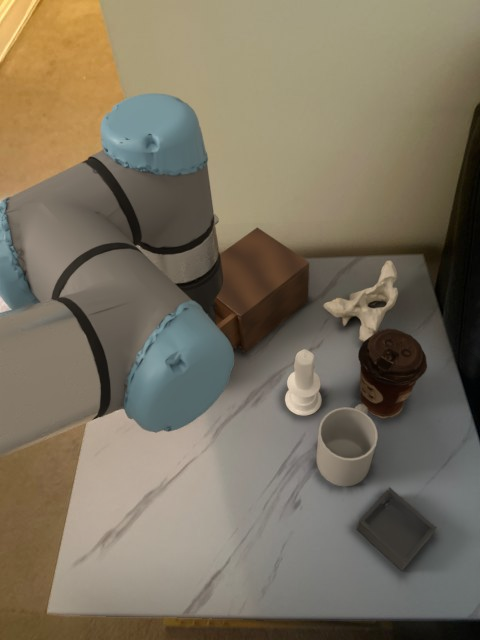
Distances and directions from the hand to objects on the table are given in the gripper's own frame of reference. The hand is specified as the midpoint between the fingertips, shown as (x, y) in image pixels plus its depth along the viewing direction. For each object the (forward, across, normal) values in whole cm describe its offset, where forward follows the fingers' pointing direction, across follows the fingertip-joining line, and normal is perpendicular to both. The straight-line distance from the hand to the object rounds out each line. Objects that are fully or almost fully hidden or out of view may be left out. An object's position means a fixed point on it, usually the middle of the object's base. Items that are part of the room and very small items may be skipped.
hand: (209, 384), depth 72 cm
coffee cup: (+12, -8, -22) cm, 27 cm away
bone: (+12, +6, -29) cm, 32 cm away
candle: (+12, -3, -13) cm, 18 cm away
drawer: (+11, +13, 0) cm, 17 cm away
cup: (+12, -13, -13) cm, 22 cm away
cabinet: (+12, +16, -15) cm, 25 cm away
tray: (+12, -24, -12) cm, 30 cm away
